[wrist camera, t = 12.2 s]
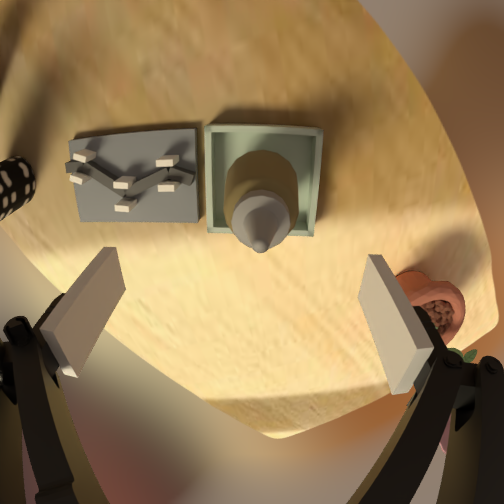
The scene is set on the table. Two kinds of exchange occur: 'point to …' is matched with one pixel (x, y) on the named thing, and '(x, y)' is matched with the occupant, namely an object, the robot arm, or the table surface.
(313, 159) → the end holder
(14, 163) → the white-spotted black cylinder
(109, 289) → the robot arm
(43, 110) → the table surface
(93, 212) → the grey peg board
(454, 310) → the decorative flower
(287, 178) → the squeeze bottle
